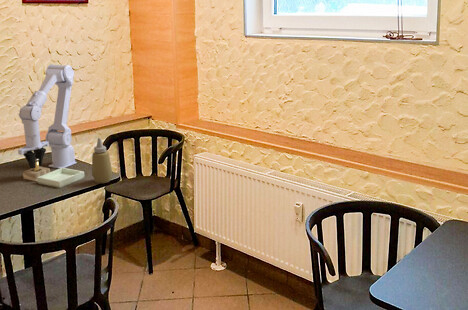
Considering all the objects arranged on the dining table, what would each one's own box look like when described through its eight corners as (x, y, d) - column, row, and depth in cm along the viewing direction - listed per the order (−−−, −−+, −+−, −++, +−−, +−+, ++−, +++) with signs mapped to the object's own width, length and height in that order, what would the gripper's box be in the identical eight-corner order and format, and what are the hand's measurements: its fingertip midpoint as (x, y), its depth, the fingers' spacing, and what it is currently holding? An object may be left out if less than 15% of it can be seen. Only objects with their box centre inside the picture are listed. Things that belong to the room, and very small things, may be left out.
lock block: (38, 173, 235) (37, 166, 234) (50, 175, 232) (49, 168, 231) (23, 178, 228) (22, 171, 228) (36, 181, 225) (35, 174, 224)
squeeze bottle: (105, 185, 220) (102, 142, 214) (88, 183, 222) (84, 140, 217) (116, 179, 227) (113, 136, 222) (99, 177, 230) (96, 135, 224)
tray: (62, 173, 235) (62, 167, 234) (84, 177, 230) (84, 171, 229) (37, 183, 223) (37, 177, 222) (60, 187, 218) (59, 181, 217)
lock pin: (37, 175, 232) (35, 157, 230) (42, 176, 231) (40, 158, 229) (31, 177, 230) (29, 159, 227) (37, 178, 228) (35, 160, 226)
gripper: (25, 140, 217) (29, 173, 221) (52, 132, 229) (56, 163, 233) (12, 138, 220) (16, 170, 224) (40, 130, 232) (43, 161, 236)
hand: (36, 166), depth 229 cm, fingers closed on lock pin, 3 cm apart
